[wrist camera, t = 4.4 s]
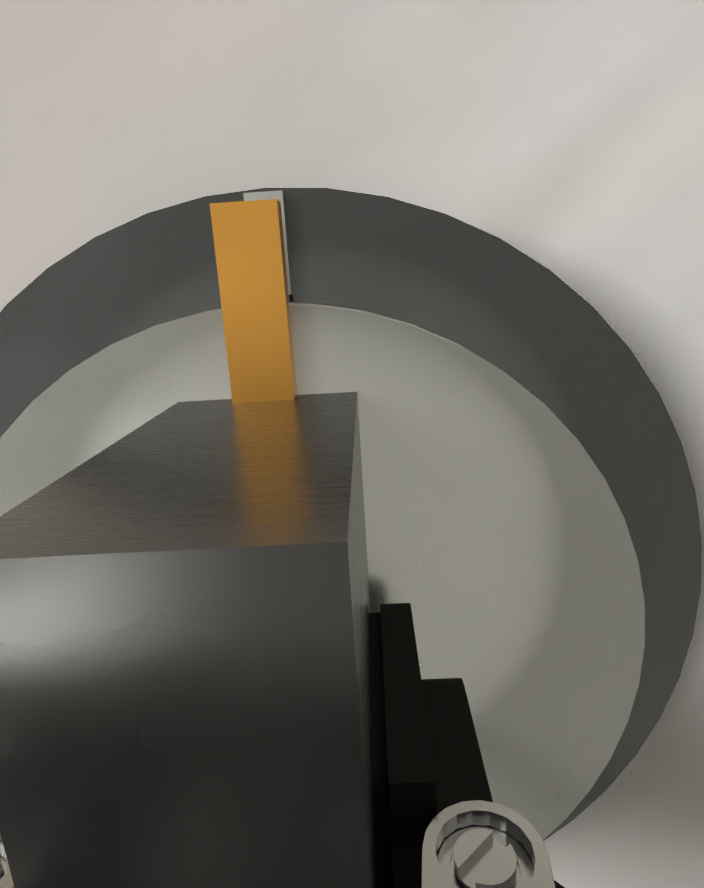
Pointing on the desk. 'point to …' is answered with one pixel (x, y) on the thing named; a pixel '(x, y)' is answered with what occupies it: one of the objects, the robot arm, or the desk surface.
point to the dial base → (431, 306)
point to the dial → (288, 587)
